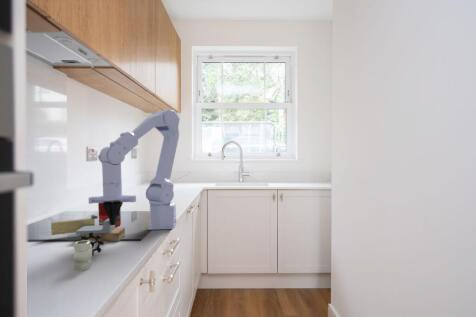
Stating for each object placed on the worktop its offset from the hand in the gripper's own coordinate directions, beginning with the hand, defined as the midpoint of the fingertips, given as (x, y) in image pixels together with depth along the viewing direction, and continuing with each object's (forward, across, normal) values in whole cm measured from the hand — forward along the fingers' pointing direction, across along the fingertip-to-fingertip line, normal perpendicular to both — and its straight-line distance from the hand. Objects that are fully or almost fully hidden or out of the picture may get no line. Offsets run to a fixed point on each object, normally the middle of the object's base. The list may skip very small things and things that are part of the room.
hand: (113, 224), depth 100 cm
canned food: (+5, -7, +18) cm, 20 cm away
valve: (+5, 0, -20) cm, 21 cm away
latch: (+3, -15, +6) cm, 16 cm away
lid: (+2, -6, +1) cm, 6 cm away
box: (+5, -3, +1) cm, 6 cm away
